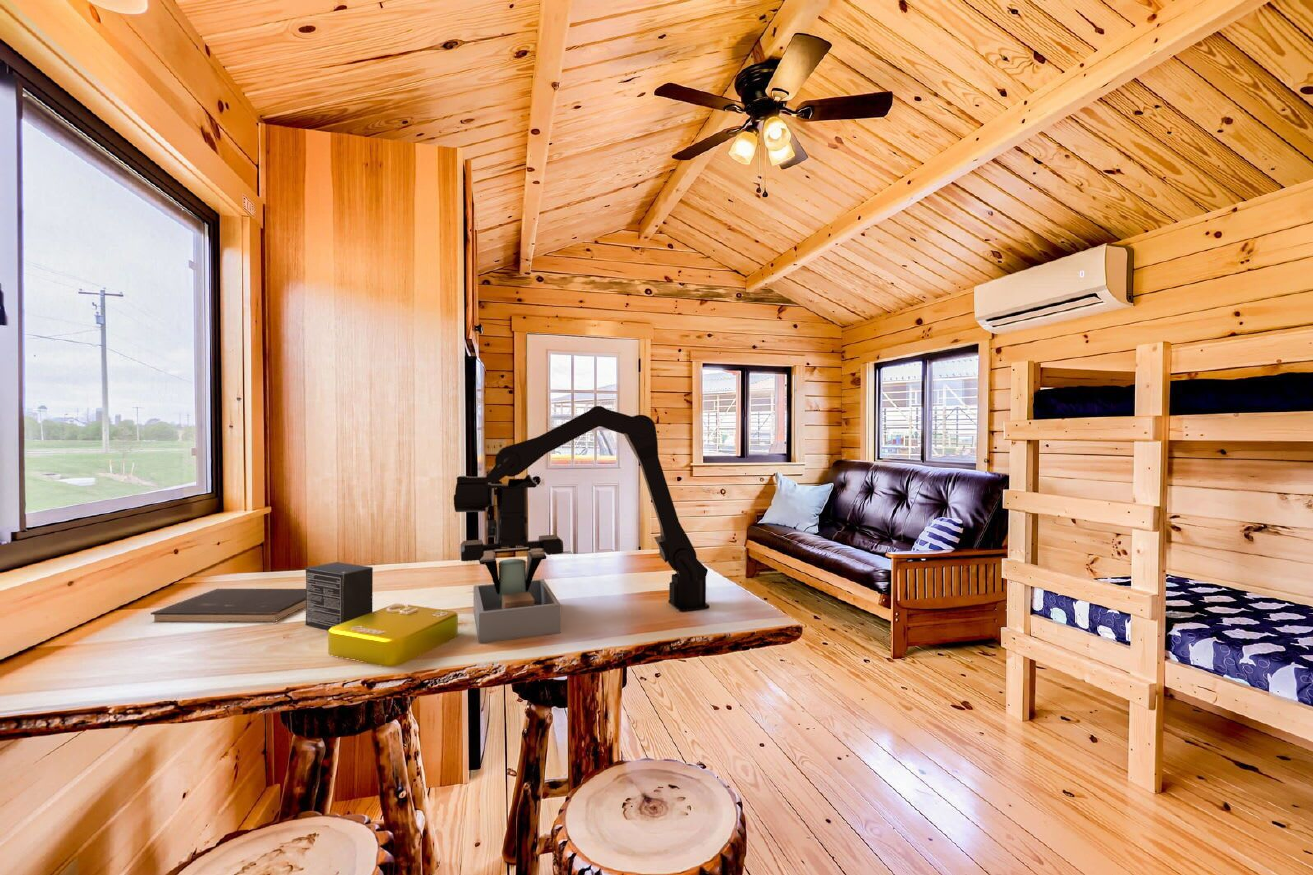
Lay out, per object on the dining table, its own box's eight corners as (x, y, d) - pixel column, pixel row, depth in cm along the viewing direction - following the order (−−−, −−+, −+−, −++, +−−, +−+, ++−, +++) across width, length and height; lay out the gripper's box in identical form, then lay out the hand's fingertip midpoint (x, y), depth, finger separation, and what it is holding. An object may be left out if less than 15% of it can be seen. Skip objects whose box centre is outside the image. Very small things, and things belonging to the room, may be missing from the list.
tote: (543, 603, 114) (543, 579, 114) (560, 632, 98) (560, 604, 98) (473, 611, 109) (473, 585, 109) (479, 643, 93) (479, 613, 93)
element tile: (322, 656, 88) (321, 626, 88) (397, 625, 102) (396, 599, 102) (394, 671, 83) (394, 639, 83) (463, 636, 97) (463, 609, 97)
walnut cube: (529, 619, 103) (529, 592, 103) (534, 628, 98) (534, 599, 98) (501, 622, 101) (501, 594, 101) (504, 631, 96) (504, 603, 96)
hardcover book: (274, 625, 103) (274, 613, 103) (150, 625, 103) (150, 612, 103) (327, 598, 119) (326, 587, 118) (219, 598, 119) (219, 587, 119)
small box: (375, 622, 103) (375, 565, 102) (342, 634, 97) (342, 574, 97) (337, 614, 107) (337, 560, 107) (303, 625, 101) (303, 567, 101)
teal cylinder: (523, 593, 110) (523, 558, 110) (527, 600, 106) (527, 563, 106) (497, 596, 109) (497, 560, 108) (500, 603, 104) (500, 566, 104)
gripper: (553, 503, 118) (553, 577, 118) (459, 507, 111) (459, 586, 111) (563, 510, 107) (563, 591, 108) (461, 516, 101) (461, 602, 101)
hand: (512, 592), depth 107 cm, fingers closed on teal cylinder, 5 cm apart
